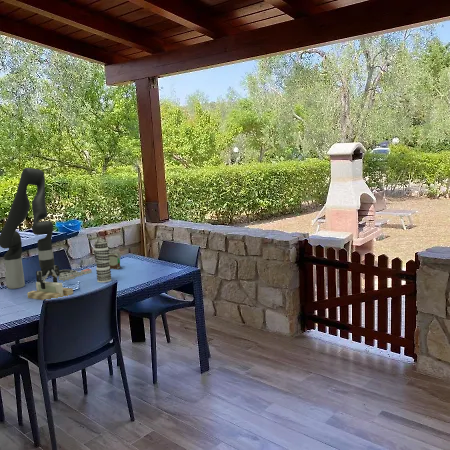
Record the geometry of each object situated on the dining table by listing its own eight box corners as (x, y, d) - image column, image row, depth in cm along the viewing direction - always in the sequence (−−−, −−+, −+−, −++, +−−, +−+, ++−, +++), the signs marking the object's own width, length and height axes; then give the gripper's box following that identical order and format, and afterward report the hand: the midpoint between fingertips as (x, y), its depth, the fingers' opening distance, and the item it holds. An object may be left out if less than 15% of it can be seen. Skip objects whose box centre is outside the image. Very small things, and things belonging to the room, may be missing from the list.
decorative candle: (95, 283, 268) (91, 242, 264) (97, 279, 277) (93, 239, 273) (111, 281, 270) (107, 240, 266) (112, 277, 279) (108, 237, 275)
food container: (126, 267, 302) (124, 253, 300) (119, 270, 297) (118, 255, 295) (112, 266, 308) (111, 251, 307) (106, 268, 303) (104, 253, 302)
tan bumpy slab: (27, 298, 246) (27, 292, 246) (46, 290, 258) (45, 285, 257) (55, 301, 238) (55, 295, 237) (73, 293, 250) (72, 288, 249)
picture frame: (36, 294, 249) (35, 282, 248) (42, 292, 253) (40, 280, 252) (58, 297, 243) (57, 284, 242) (64, 295, 246) (62, 282, 245)
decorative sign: (63, 278, 276) (46, 273, 288) (63, 282, 276) (46, 277, 289) (94, 269, 292) (76, 266, 305) (94, 273, 293) (77, 269, 305)
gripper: (41, 261, 236) (44, 291, 239) (61, 255, 249) (64, 283, 252) (30, 260, 239) (34, 290, 242) (50, 254, 252) (54, 282, 255)
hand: (49, 286), depth 247 cm, fingers open, 8 cm apart
